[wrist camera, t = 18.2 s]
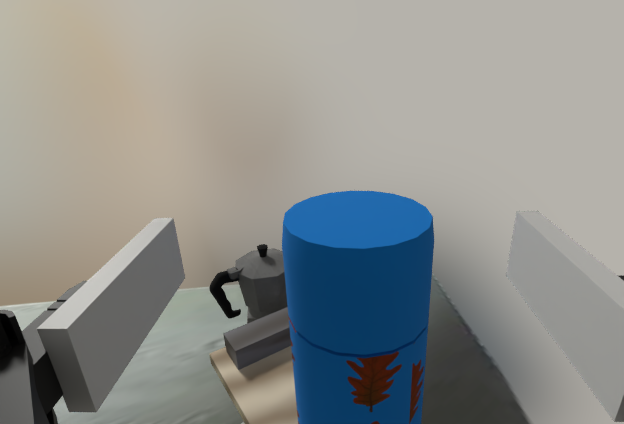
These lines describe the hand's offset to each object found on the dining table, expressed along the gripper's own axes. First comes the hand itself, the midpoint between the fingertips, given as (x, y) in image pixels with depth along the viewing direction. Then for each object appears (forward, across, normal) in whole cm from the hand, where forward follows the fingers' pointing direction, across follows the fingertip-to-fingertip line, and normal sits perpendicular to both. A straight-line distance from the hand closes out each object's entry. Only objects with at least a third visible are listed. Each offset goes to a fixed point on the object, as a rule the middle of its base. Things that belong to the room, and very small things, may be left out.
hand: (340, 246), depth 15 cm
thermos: (+12, +1, -29) cm, 31 cm away
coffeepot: (+38, -13, -38) cm, 55 cm away
